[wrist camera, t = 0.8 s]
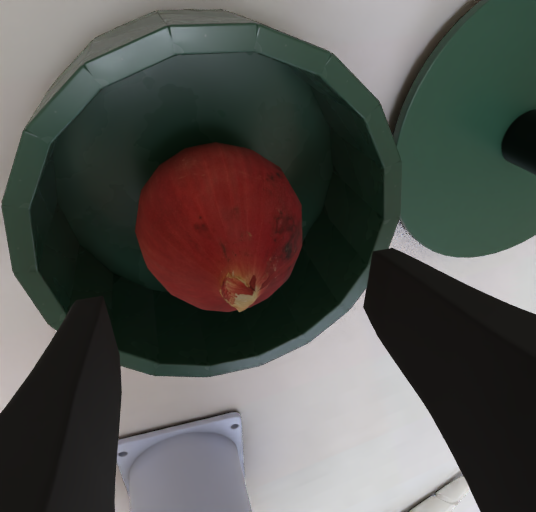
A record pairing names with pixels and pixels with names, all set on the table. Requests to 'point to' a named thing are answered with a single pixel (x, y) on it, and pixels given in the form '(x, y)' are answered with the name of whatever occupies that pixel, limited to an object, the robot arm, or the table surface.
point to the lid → (473, 135)
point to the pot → (173, 141)
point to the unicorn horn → (445, 497)
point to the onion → (219, 226)
